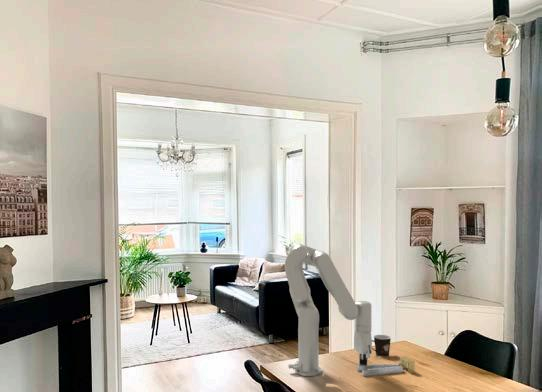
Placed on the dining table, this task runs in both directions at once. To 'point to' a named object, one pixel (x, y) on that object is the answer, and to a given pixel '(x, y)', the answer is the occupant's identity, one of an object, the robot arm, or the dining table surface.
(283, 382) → the dining table surface
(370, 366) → the grey rod
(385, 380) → the dining table surface
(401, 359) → the beige textured block
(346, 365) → the dining table surface
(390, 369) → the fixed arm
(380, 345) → the coffee mug
